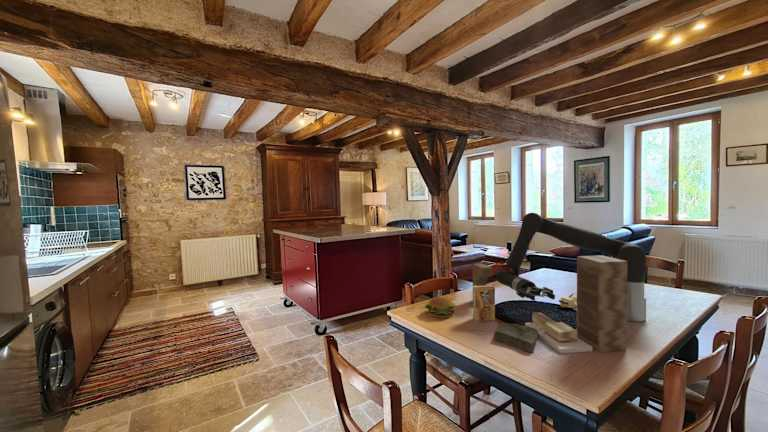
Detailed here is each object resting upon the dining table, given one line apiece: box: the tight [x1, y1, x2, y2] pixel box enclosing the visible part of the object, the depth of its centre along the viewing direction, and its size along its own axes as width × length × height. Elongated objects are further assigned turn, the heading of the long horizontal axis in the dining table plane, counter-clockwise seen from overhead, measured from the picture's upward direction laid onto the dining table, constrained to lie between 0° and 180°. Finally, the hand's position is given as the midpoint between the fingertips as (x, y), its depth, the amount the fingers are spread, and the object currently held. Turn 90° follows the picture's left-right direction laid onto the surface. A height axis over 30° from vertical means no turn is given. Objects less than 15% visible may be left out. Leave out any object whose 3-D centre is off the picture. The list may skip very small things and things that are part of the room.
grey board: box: [524, 321, 593, 354], centre depth 124 cm, size 12×24×2 cm, turn 4°
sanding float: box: [531, 312, 577, 343], centre depth 127 cm, size 7×21×4 cm, turn 4°
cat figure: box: [558, 293, 577, 309], centre depth 160 cm, size 10×9×25 cm
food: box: [424, 296, 456, 319], centre depth 153 cm, size 14×14×8 cm
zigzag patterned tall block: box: [576, 254, 628, 353], centre depth 117 cm, size 10×12×32 cm
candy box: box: [472, 284, 496, 322], centre depth 144 cm, size 9×4×15 cm, turn 92°
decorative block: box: [472, 263, 493, 287], centre depth 167 cm, size 11×6×20 cm, turn 12°
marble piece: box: [493, 322, 538, 354], centre depth 123 cm, size 17×15×4 cm
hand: (544, 297), depth 131 cm, fingers open, 8 cm apart
